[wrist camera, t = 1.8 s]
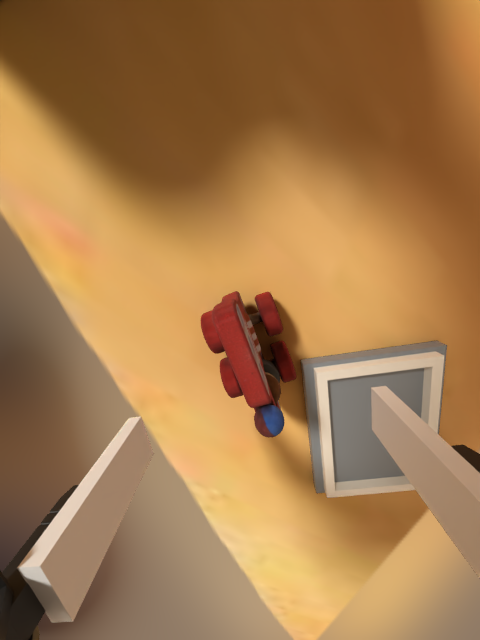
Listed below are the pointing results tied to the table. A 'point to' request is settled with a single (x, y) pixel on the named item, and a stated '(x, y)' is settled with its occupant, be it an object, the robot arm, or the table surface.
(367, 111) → the table surface
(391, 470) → the base board
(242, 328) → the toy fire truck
